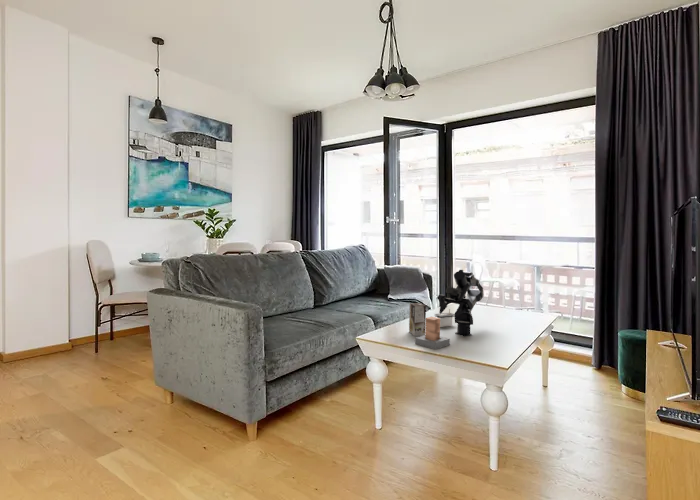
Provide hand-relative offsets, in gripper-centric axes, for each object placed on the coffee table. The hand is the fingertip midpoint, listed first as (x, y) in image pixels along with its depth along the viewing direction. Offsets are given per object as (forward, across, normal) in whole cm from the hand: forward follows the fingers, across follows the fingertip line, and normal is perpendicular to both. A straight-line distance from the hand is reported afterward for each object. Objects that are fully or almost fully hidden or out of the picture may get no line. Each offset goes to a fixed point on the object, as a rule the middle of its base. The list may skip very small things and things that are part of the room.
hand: (447, 314), depth 203 cm
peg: (+17, 0, +2) cm, 17 cm away
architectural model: (-8, -20, +28) cm, 35 cm away
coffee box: (+11, -18, +8) cm, 22 cm away
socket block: (+17, 0, +2) cm, 17 cm away
